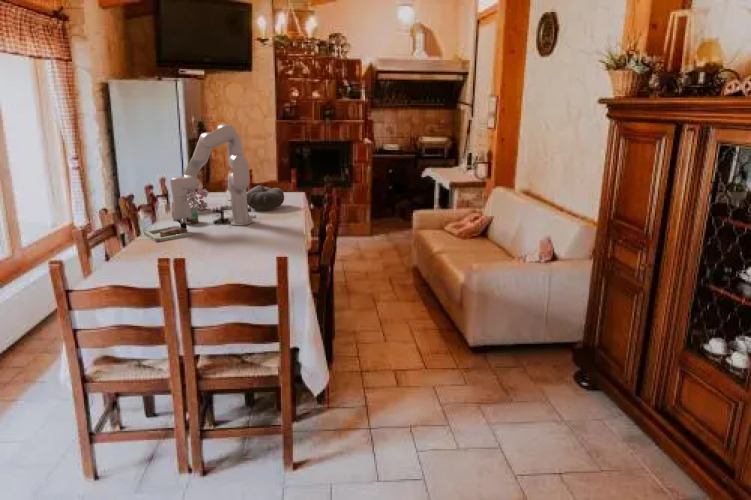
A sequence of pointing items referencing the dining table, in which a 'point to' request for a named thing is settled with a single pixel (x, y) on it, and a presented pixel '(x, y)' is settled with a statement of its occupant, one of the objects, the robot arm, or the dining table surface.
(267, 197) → the gourd
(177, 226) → the sage-green bay
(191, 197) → the flower
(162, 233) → the walnut T block
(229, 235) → the dining table surface
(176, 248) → the dining table surface
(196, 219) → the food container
